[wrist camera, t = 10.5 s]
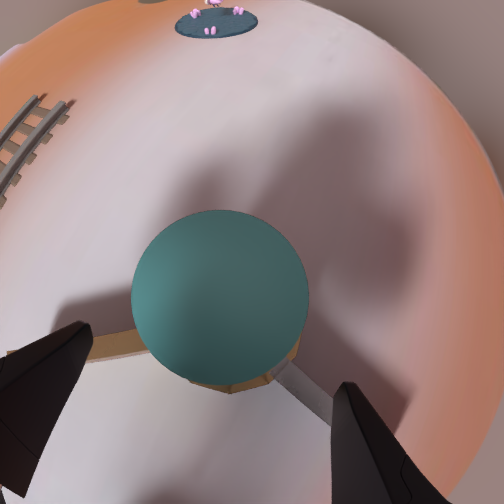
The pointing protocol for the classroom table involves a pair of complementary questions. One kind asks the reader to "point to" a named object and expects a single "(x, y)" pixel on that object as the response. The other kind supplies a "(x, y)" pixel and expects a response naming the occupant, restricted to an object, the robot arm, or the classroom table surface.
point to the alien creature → (216, 22)
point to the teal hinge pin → (219, 297)
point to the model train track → (8, 174)
